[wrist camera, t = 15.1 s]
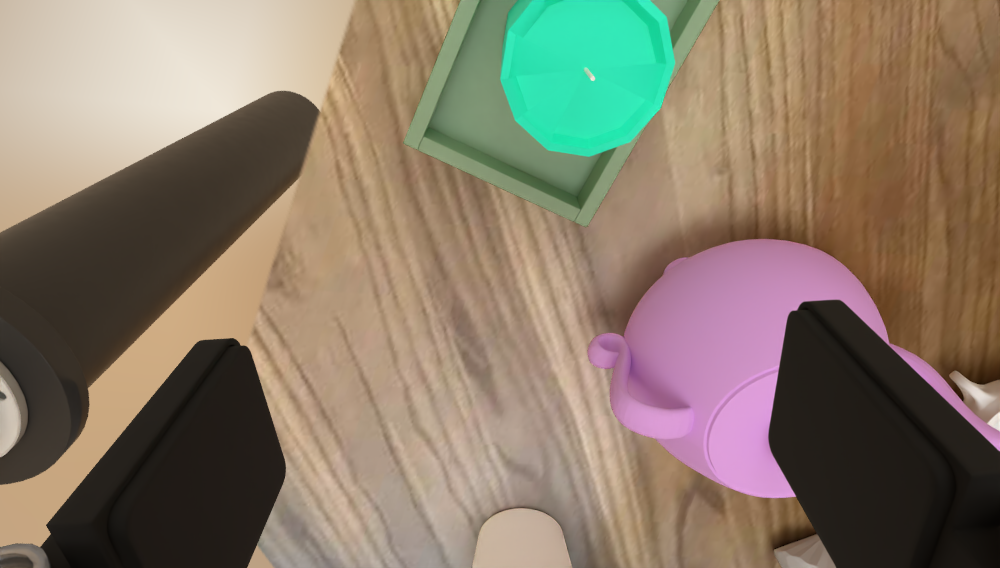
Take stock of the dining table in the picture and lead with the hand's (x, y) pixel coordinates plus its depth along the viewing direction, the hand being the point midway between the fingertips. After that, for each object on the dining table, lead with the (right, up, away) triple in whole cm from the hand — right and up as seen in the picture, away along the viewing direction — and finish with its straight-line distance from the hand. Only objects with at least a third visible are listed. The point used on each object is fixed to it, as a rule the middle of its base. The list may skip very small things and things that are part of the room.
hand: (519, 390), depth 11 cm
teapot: (+15, 0, +28) cm, 31 cm away
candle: (+3, +14, +19) cm, 24 cm away
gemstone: (+26, -17, +36) cm, 47 cm away
